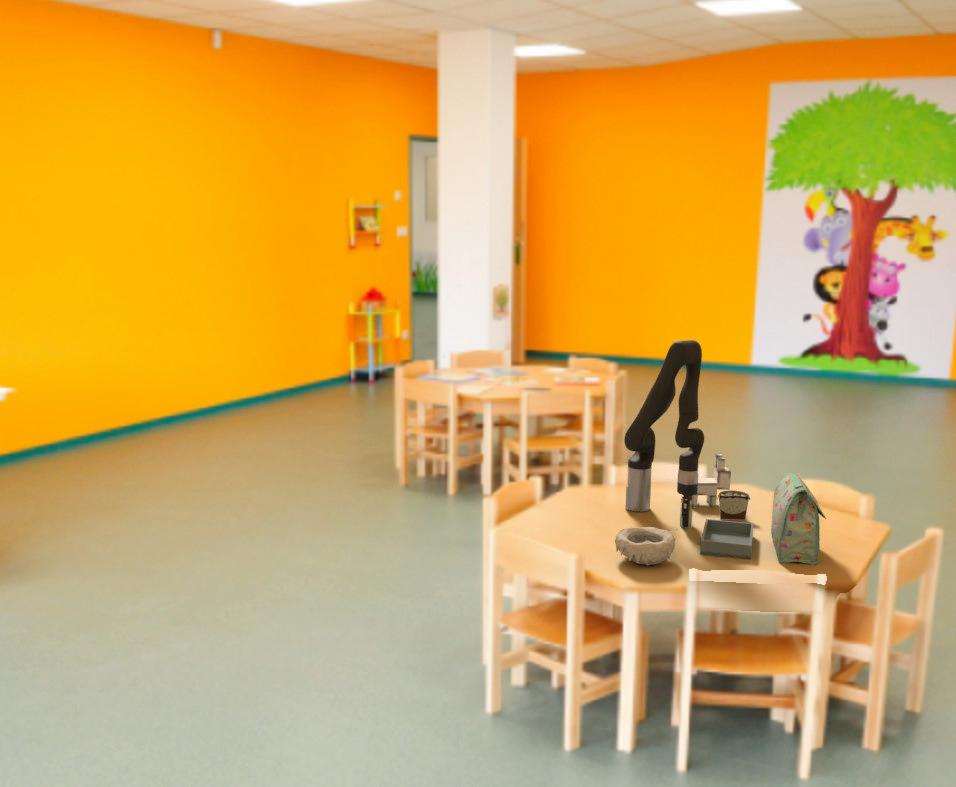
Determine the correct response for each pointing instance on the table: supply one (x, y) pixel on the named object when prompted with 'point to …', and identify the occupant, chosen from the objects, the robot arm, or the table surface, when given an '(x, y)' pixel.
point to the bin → (727, 539)
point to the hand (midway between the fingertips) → (685, 524)
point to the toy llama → (714, 482)
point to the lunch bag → (795, 522)
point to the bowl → (645, 544)
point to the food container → (733, 505)
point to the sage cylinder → (689, 519)
